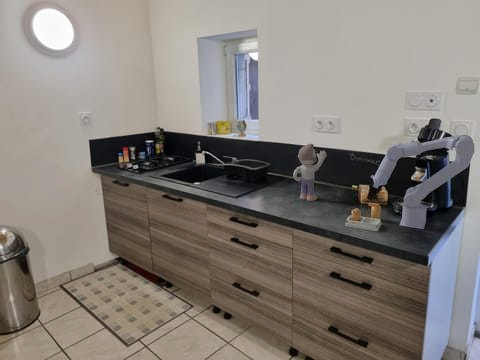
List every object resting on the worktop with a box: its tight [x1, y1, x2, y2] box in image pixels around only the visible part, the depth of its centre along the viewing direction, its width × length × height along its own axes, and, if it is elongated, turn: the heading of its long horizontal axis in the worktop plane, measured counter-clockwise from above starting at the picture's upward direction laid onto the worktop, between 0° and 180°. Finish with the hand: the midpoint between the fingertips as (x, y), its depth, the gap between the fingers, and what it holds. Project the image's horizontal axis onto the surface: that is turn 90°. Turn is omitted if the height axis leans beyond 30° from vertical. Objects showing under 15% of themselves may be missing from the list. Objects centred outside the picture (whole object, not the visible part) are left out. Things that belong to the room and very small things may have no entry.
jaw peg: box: [367, 202, 382, 219], centre depth 165 cm, size 5×4×7 cm
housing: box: [344, 207, 382, 232], centre depth 159 cm, size 14×8×7 cm, turn 60°
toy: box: [292, 143, 328, 202], centre depth 193 cm, size 18×9×30 cm, turn 47°
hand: (370, 197), depth 164 cm, fingers open, 7 cm apart
